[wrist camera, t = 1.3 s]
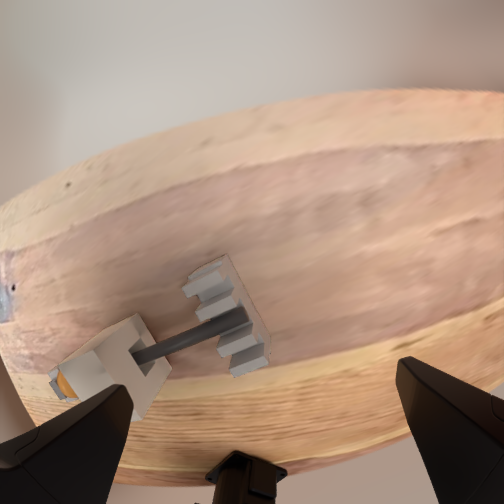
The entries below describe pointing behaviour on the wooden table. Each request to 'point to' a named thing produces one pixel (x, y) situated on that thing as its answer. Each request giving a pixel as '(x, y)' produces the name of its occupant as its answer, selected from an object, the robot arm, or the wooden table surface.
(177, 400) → the wooden table surface
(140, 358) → the cord rig
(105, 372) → the sleeve
